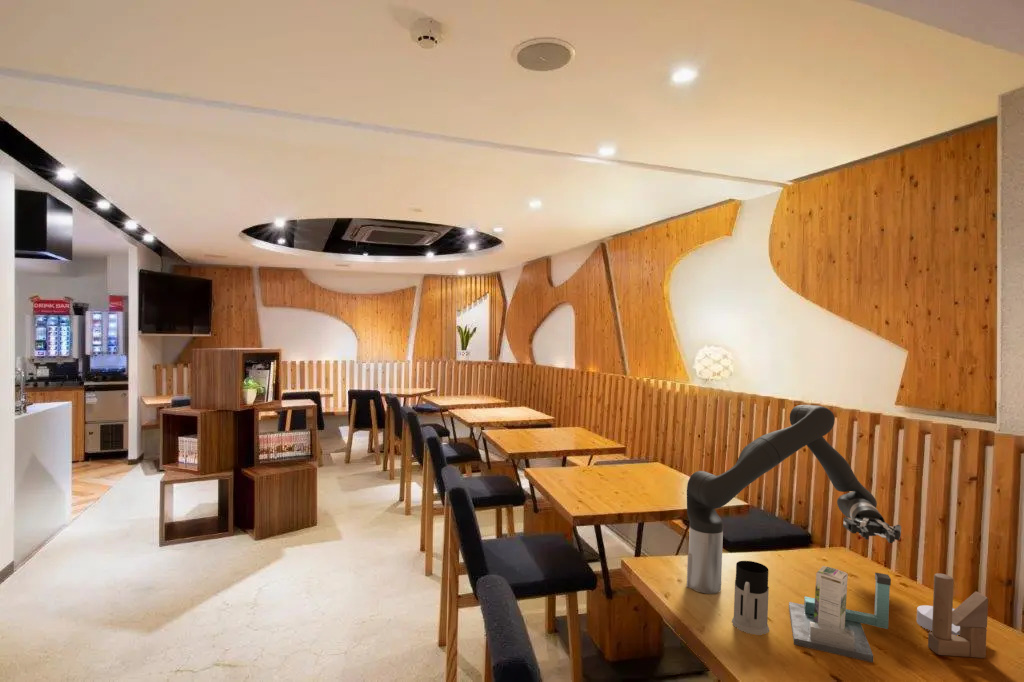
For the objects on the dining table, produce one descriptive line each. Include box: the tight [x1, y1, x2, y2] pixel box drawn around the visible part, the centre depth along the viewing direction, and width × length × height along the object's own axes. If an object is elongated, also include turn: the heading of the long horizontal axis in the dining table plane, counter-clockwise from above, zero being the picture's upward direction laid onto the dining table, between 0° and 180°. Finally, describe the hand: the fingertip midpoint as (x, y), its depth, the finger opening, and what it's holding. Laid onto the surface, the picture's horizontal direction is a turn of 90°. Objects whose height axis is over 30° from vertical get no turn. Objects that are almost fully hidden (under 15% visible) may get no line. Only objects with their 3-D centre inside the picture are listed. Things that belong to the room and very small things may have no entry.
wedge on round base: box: [916, 605, 960, 636], centre depth 138 cm, size 9×7×13 cm
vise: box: [788, 601, 874, 663], centre depth 135 cm, size 16×20×4 cm
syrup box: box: [814, 565, 849, 629], centre depth 134 cm, size 6×6×14 cm
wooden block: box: [927, 573, 989, 659], centre depth 128 cm, size 4×11×18 cm, turn 87°
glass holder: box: [731, 560, 770, 636], centre depth 135 cm, size 9×14×15 cm, turn 148°
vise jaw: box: [803, 572, 892, 630], centre depth 139 cm, size 18×3×13 cm, turn 66°
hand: (879, 537), depth 141 cm, fingers open, 4 cm apart
